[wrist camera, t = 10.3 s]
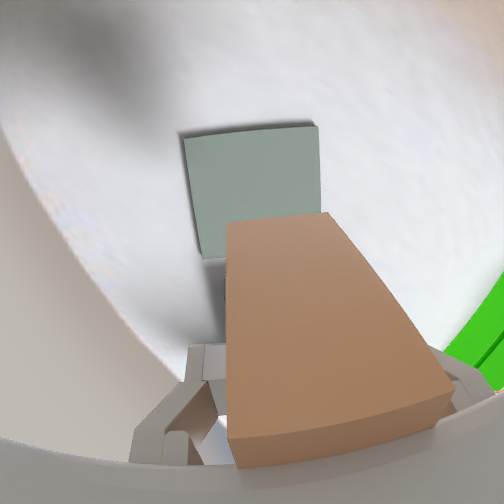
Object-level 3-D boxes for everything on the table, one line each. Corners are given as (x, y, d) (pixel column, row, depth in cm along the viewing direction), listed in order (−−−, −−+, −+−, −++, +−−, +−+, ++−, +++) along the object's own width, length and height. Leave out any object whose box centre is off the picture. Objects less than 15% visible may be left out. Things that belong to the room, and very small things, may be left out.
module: (226, 222, 12) (227, 439, 4) (327, 212, 12) (455, 388, 4) (243, 339, 15) (257, 522, 7) (324, 328, 15) (383, 497, 7)
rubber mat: (184, 138, 23) (183, 139, 22) (316, 125, 23) (318, 126, 22) (203, 256, 27) (202, 259, 27) (319, 243, 27) (320, 246, 27)
